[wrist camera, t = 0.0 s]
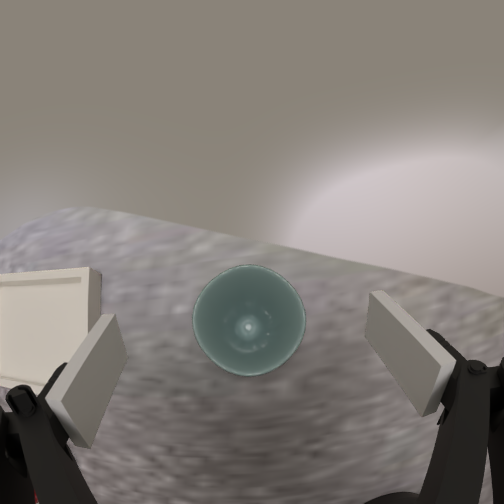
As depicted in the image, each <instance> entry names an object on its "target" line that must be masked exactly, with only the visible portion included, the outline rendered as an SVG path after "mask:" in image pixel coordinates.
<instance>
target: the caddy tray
mask: <svg viewBox="0 0 504 504" xmlns="http://www.w3.org/2000/svg"><path fill="white" fill-rule="evenodd" d="M100 317H101V274H100V273H98V272H97V271H95V270H93V269H92V268H90V267H83V268H70V269H58V270H46V271H34V272H21V273H9V274H0V386H3V387H7V388H11V389H12V388H13V387H15V386H18V385H22V384H23V385H28V386H30V387H31V388H32V390H33V392H34V394H40V392H41V391H42V389H43V388H44V386H45V385H46V383H48V380H49V379H50V377H52V374H53V373H54V371H55V370H56V368H58V367H59V366H60V365H62V364H63V363H64V362H67V363H68V362H69V361H70V359H71V358H72V356H73V355H74V353H75V352H76V350H77V349H78V348H79V346H80V345H81V343H82V342H83V340H84V339H85V338H86V336H87V335H88V333H89V332H90V331H91V329H92V328H93V327H94V325H95V324H96V322H97V321H98V320H99V318H100Z"/></svg>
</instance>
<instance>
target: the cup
mask: <svg viewBox="0 0 504 504" xmlns="http://www.w3.org/2000/svg"><path fill="white" fill-rule="evenodd" d="M192 327H193V331H194V335H195V338H196V340H197V342H198V344H199V346H200V348H201V349H202V351H203V352H204V353H205V354H206V356H207V357H208V358H209V359H210V360H211V361H212V362H213V363H214V364H216V365H217V366H218V367H220V368H222V369H223V370H225V371H226V372H229V373H232V374H234V375H237V376H244V377H253V376H260V375H263V374H266V373H269V372H271V371H273V370H275V369H277V368H278V367H280V366H281V365H282V364H284V363H285V362H286V361H287V360H288V359H289V358H290V357H291V356H292V355H293V354H294V353H295V351H296V350H297V348H298V346H299V345H300V343H301V341H302V339H303V336H304V333H305V328H306V314H305V309H304V306H303V303H302V300H301V298H300V297H299V295H298V293H297V292H296V290H295V289H294V288H293V287H292V285H291V284H290V283H289V282H288V281H287V280H286V279H284V278H283V277H282V276H281V275H279V274H278V273H276V272H274V271H273V270H271V269H268V268H265V267H263V266H258V265H251V264H249V265H239V266H236V267H233V268H230V269H228V270H226V271H224V272H222V273H220V274H219V275H218V276H216V277H215V278H214V279H212V280H211V281H210V282H209V283H208V284H207V285H206V286H205V287H204V289H203V290H202V292H201V293H200V295H199V296H198V298H197V301H196V303H195V305H194V309H193V314H192Z"/></svg>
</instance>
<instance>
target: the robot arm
mask: <svg viewBox="0 0 504 504" xmlns="http://www.w3.org/2000/svg"><path fill="white" fill-rule="evenodd" d="M365 337H366V339H367V340H368V342H369V343H370V344H371V346H372V347H373V348H374V350H375V351H376V353H377V354H378V355H379V357H380V358H381V360H382V361H383V362H384V364H385V365H386V367H387V368H388V369H389V371H390V372H391V374H392V375H393V377H394V378H395V379H396V381H397V382H398V384H399V385H400V387H401V388H402V389H403V391H404V392H405V394H406V395H407V397H408V398H409V400H410V401H411V403H412V404H413V405H414V407H415V408H416V410H417V411H418V413H419V414H420V416H421V417H424V416H427V415H429V414H432V413H434V412H436V411H437V409H438V406H439V404H440V402H441V403H442V404H443V405H444V406H445V408H444V410H443V412H442V414H441V416H440V419H439V421H438V423H437V425H439V424H440V426H439V430H438V435H437V439H436V443H435V447H434V450H433V454H432V458H431V461H430V464H429V468H428V471H427V474H426V477H425V480H424V483H423V486H422V489H421V492H420V494H419V495H418V494H415V493H410V492H400V493H393V494H389V495H385V496H382V497H379V498H377V499H374V500H372V501H370V502H368V503H366V504H478V503H479V498H480V493H481V488H482V483H483V477H484V471H485V463H486V456H487V447H488V453H489V460H490V468H491V477H492V489H493V504H504V357H503V358H502V360H501V363H500V365H499V366H496V367H489V368H488V367H487V366H486V365H485V364H484V363H482V362H481V361H477V360H468V361H467V360H466V359H465V358H464V357H463V356H462V355H461V354H460V353H459V352H458V351H457V350H456V349H455V348H454V347H453V346H452V345H451V346H450V344H449V343H448V342H447V341H445V339H444V338H443V337H442V336H441V335H440V334H439V333H437V332H435V331H433V330H431V329H427V330H425V329H424V328H423V327H422V326H421V325H420V324H419V323H418V322H417V321H415V320H414V319H413V318H412V317H411V316H410V315H409V314H408V313H407V312H406V311H405V310H404V309H403V308H402V307H401V306H399V305H398V304H397V303H396V302H395V301H394V300H393V299H392V298H391V297H390V296H389V295H387V294H386V293H385V292H384V291H383V290H379V291H373V292H370V296H369V306H368V315H367V323H366V331H365ZM127 359H128V355H127V352H126V349H125V345H124V342H123V339H122V336H121V332H120V329H119V326H118V322H117V319H116V315H115V314H102V316H101V317H100V318H99V320H98V321H97V322H96V324H95V325H94V327H93V328H92V329H91V331H90V332H89V333H88V335H87V336H86V338H85V339H84V340H83V342H82V343H81V345H80V346H79V348H78V349H77V350H76V352H75V353H74V355H73V356H72V358H71V359H70V361H69V362H68V363H67V362H64V363H63V364H62V365H60V366H59V367H58V368H56V370H55V371H54V373H53V374H52V377H50V379H49V380H48V383H46V385H45V386H44V388H43V389H42V391H41V392H40V394H39V395H38V397H36V396H35V394H34V392H33V390H32V388H31V387H30V386H28V385H23V384H22V385H18V386H15V387H13V388H12V389H11V390H10V391H9V392H8V393H7V395H6V399H5V400H6V401H7V403H8V405H9V406H10V408H11V409H12V411H13V412H4V410H3V409H2V407H1V406H0V504H36V503H35V493H36V496H37V499H38V501H39V504H98V503H97V501H96V500H95V498H94V496H93V494H92V493H91V491H90V489H89V487H88V485H87V483H86V481H85V480H84V478H83V476H82V474H81V472H80V470H79V468H78V466H77V463H76V461H75V459H74V457H73V455H72V453H71V450H70V448H69V447H68V445H67V444H66V443H67V441H68V438H70V439H71V441H72V442H73V443H74V445H75V446H78V447H83V448H89V449H91V446H92V444H93V441H94V438H95V436H96V433H97V431H98V428H99V426H100V423H101V420H102V418H103V415H104V413H105V411H106V408H107V406H108V403H109V401H110V398H111V396H112V394H113V391H114V389H115V387H116V384H117V382H118V380H119V377H120V375H121V373H122V371H123V368H124V366H125V364H126V362H127ZM34 490H35V493H34Z"/></svg>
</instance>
